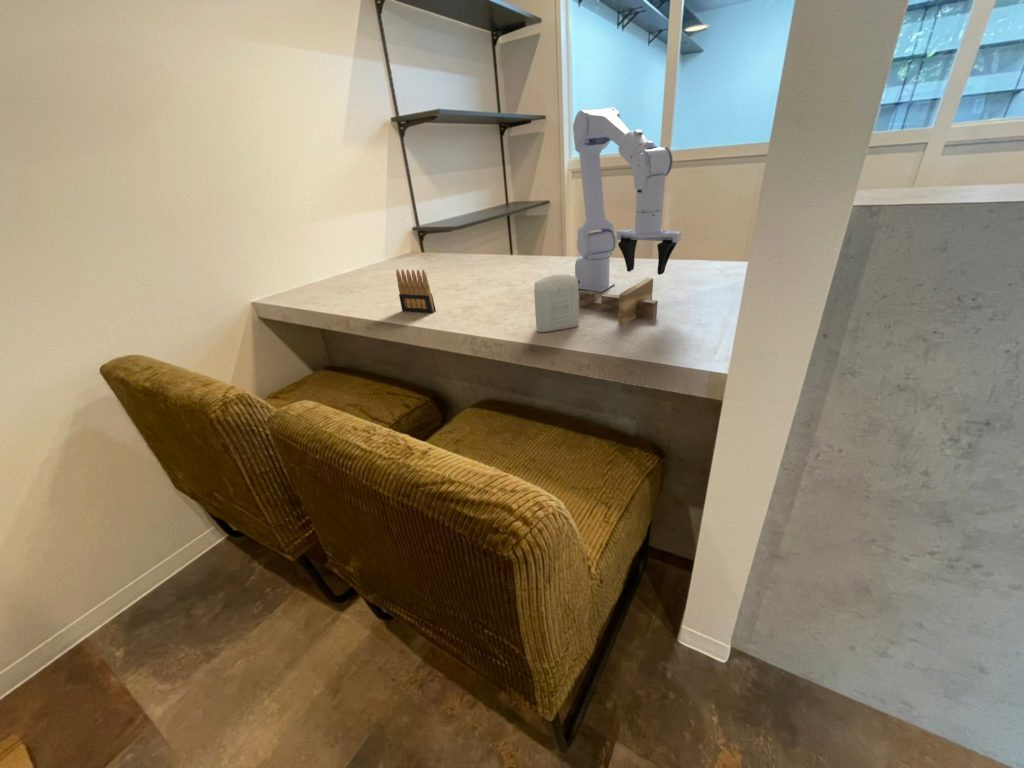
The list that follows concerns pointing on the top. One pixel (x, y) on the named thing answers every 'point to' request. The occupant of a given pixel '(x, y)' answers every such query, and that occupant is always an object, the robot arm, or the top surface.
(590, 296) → the slotted beam
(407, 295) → the ammunition clip
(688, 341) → the top surface
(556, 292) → the miniature gravestone
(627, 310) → the crossbar
